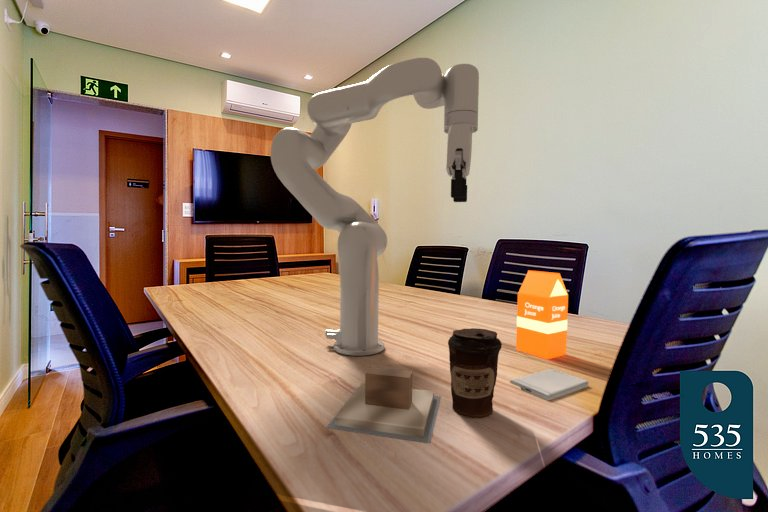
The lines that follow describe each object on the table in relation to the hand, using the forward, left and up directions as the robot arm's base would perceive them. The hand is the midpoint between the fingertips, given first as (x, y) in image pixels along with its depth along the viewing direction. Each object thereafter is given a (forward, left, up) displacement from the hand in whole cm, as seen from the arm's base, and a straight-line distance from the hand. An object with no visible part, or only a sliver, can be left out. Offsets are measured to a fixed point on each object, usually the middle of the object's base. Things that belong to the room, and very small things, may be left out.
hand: (459, 199), depth 84 cm
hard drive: (+18, -12, -38) cm, 43 cm away
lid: (-9, -31, -36) cm, 49 cm away
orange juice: (+20, +10, -37) cm, 43 cm away
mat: (-9, -31, -37) cm, 49 cm away
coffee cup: (+4, -27, -37) cm, 46 cm away
